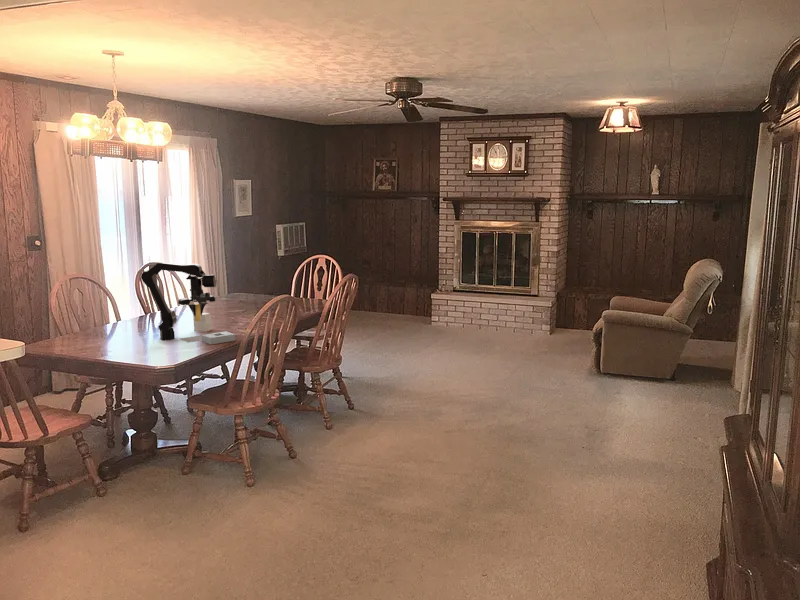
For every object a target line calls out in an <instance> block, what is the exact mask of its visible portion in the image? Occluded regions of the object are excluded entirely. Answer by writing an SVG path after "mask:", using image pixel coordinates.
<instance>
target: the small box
mask: <svg viewBox="0 0 800 600" xmlns="http://www.w3.org/2000/svg"><path fill="white" fill-rule="evenodd" d="M192 316H193V317H192V318H193V331H194V332H201V333H203V332H206V333H207V332H210V331H212V321H211V320H212V319H211V318H212V317H211V313H210V312H202V315H201V321H195V316H194V315H193V314H192Z"/></svg>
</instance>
